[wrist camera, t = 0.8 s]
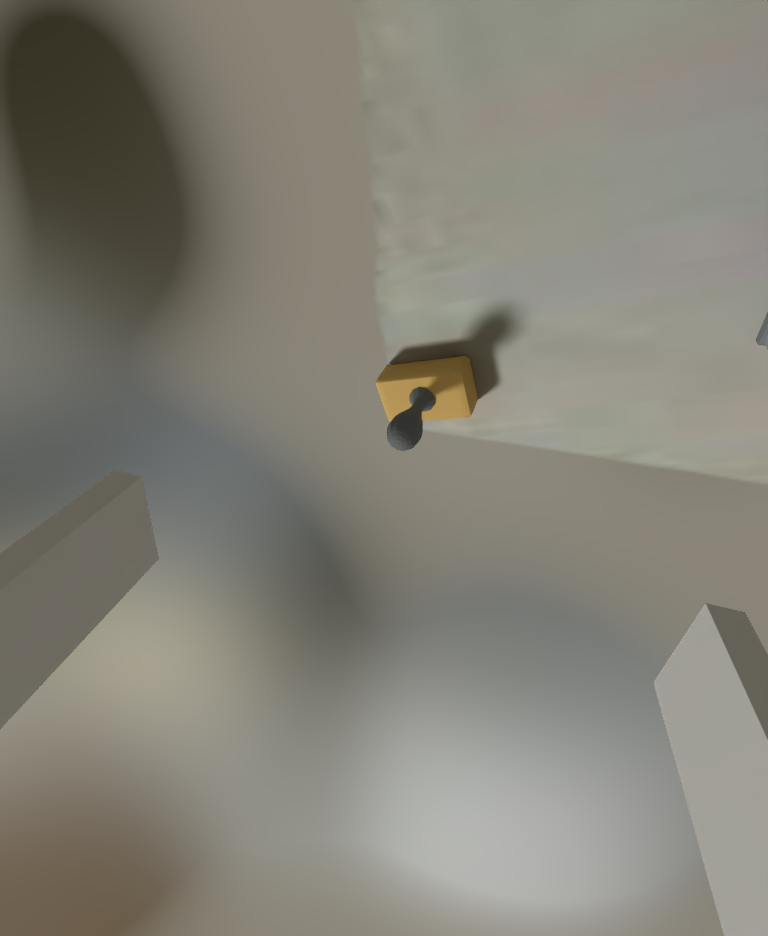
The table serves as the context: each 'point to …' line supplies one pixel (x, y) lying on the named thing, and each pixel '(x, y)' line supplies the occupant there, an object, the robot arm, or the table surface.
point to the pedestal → (763, 334)
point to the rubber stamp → (425, 396)
